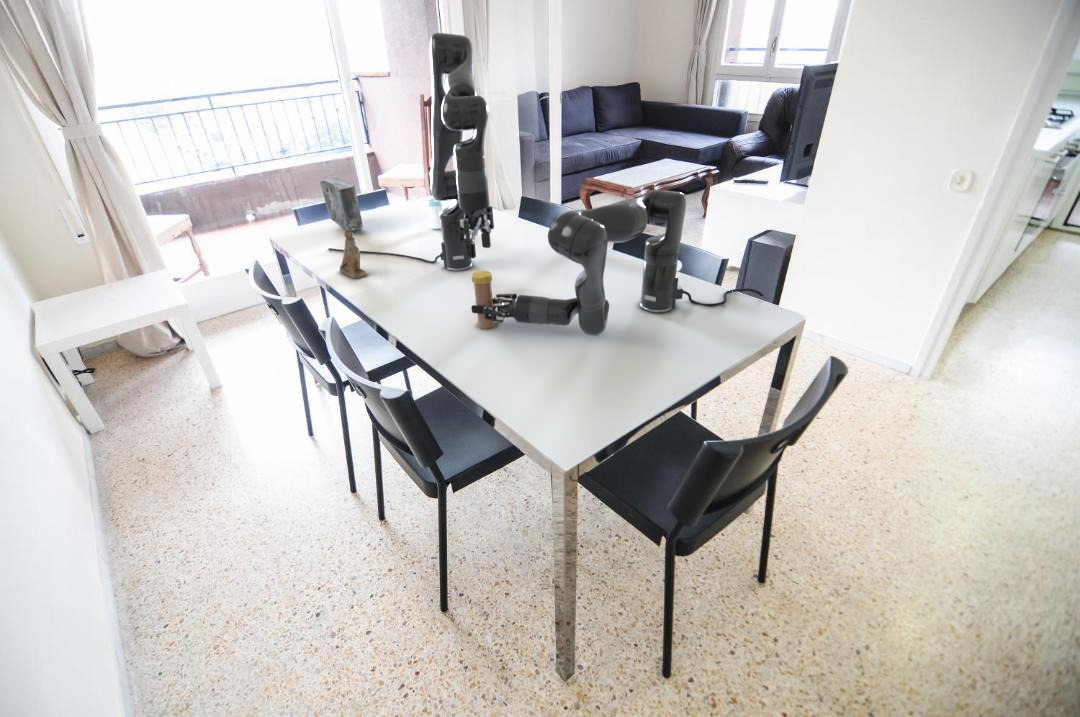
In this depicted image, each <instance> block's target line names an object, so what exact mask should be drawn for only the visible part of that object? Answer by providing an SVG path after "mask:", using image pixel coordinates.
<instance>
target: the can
mask: <svg viewBox="0 0 1080 717" xmlns="http://www.w3.org/2000/svg"><path fill="white" fill-rule="evenodd" d="M426 207H427V211H428V212H427V213H428V219H429V226H430V228H431V229H433V230H442V229H441V223H440V212H441V211H442V210H443V209H445V205H444V201H437V200H435V199H434V198H432V199H428V201H427V204H426Z"/></svg>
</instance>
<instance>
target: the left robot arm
mask: <svg viewBox="0 0 1080 717" xmlns="http://www.w3.org/2000/svg"><path fill="white" fill-rule="evenodd" d="M429 62H430V64H429V65H430V79H431V121H430V122H431V165H430V166H431V168H430V181H429V182H430V184H429V185H430V192H431V195H432V197H433V199H435V200H437V201H442V202H445V201H452V202H451V203H450V204H449V205H448V206H446V207H444V209H443V210H442V211H441V212H440V223H441V229H440V230H441V235H442V242H441V243H440V246H441V250H442V251H441V252H440V254H438V255H437V256H435V258H434V260H432V261H431V260H427V259H424V258H422V257H416V256H412V255H406V254H400V253H393V252H383V251H370V250H369V251H368V250H359V251H360V254H374V255H384V256H385V255H386V256H394V257H395V256H396V257H401V258H408V259H413V260H418V261H422V262H424V263H428V264H435V263H437V261H438V259H439V258H440V260H441V261H443V267H444V269H445V270H449V271H454V272H459V271H467V270H469V269H471V268H472V266H473V260H472V259H475V258H477V253H476V251H477V250H476V243H475V242H476V237H477V236H478V235H479V231H480V237H481V246H482V248H484V249H490V248H491V247H492V244H491V233H492V230H494V229H495V220H494V212H493V206H490V205H491V204H490V194H489V193H490V192H489V182H488V175H487V170H486V169H487V168H486V158H485V138H486V131H487V127H488V126H487V125H488V120H489V106H488V102H487V101H486V99H485V98H484V97H482V96H481V95H477V91H476V86H475V83H474V82H475V81H474V79H475V78H474V76H475V74H474V72H475V64H474V48H473V44H472V41H471V40H470V38H469V37H467V36H466V35H462V34H456V33H445V32H434V33H433V34H432V35H431V37H430V41H429ZM444 75H447V76H446V79H445V80H444ZM464 131H474V132H473V135H472V136H471V137H470V138H468V139H466V140H463V134H464V133H463V132H464ZM453 156H454V162H455V164H454V165H455V169H450V170H446V169H447V166H448V164H449V162H450V160H451V159H452V158H453ZM328 251H334V252H342V253H344V249H341V248H331V247H329V248H328Z"/></svg>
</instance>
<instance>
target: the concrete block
mask: <svg viewBox="0 0 1080 717" xmlns="http://www.w3.org/2000/svg"><path fill="white" fill-rule="evenodd" d="M319 183H320V187H321V191H322V195H323V198H324V199H323V200H324V202H325V206H326V209H327V212H328V216H329V218H330V220H332V221H333V222H334V223H336V224H337V225H338V226H339V227H341V228H342V229H343V230H345V231H348V230H350V231H352V232H353V231H354V230H358V229H361V228H363V227H364V224H363V218H362V214H361V210H360V205H359V204H360V203H359V200H358V195H357V194H358V193H357V189H356V186H355V185H354V184H353V183H351V182H350V181H347V180H345V179H341V178H336V177H332V178H327V179H322V180H320V182H319Z"/></svg>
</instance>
